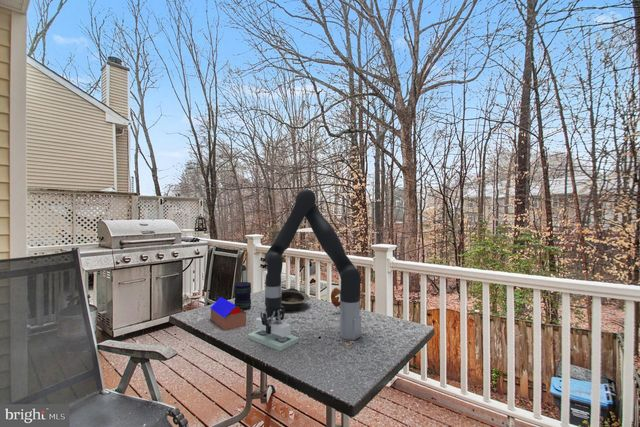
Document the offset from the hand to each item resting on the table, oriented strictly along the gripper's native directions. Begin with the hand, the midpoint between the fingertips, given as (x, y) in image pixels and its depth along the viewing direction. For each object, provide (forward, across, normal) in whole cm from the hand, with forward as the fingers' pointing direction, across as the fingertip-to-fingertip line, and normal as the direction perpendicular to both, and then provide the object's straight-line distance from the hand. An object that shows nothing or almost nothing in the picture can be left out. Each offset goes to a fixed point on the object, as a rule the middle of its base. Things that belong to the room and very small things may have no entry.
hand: (273, 331), depth 145 cm
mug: (+4, +51, -5) cm, 51 cm away
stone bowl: (+4, +41, +28) cm, 50 cm away
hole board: (+4, 0, 0) cm, 4 cm away
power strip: (+2, 0, 0) cm, 2 cm away
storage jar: (+4, +21, +48) cm, 53 cm away
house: (+4, +1, +35) cm, 35 cm away
